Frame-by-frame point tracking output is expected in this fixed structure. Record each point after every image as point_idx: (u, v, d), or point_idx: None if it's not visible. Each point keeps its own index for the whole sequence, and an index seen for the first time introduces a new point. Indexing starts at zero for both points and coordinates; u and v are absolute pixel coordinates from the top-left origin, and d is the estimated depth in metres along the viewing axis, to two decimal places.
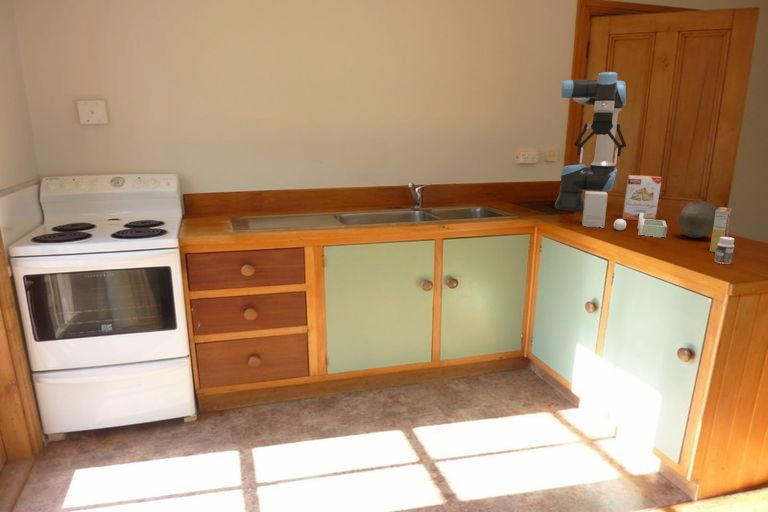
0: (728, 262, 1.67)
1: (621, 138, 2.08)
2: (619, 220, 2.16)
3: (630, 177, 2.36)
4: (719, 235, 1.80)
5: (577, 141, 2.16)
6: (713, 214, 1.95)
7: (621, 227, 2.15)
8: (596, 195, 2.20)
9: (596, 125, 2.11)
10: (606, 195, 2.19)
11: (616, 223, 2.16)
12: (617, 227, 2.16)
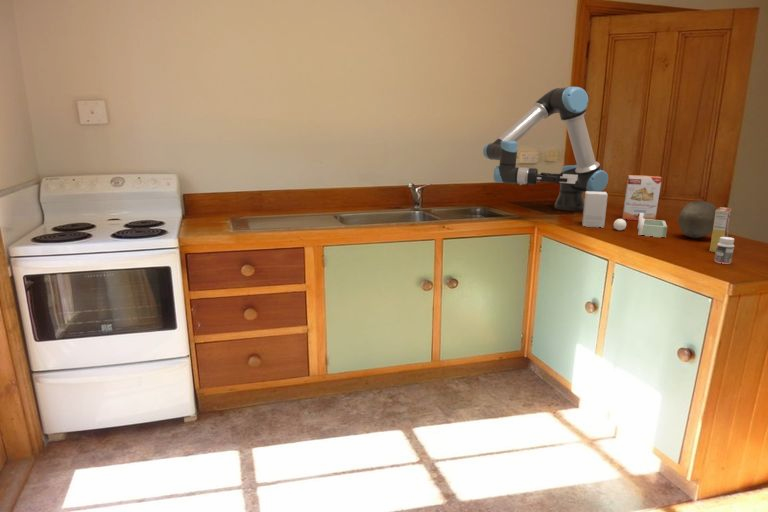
0: (728, 262, 1.67)
1: (549, 181, 2.23)
2: (619, 220, 2.16)
3: (630, 177, 2.36)
4: (719, 235, 1.80)
5: None
6: (713, 214, 1.95)
7: (621, 227, 2.15)
8: (596, 195, 2.20)
9: None
10: (606, 195, 2.19)
11: (616, 223, 2.16)
12: (617, 227, 2.16)
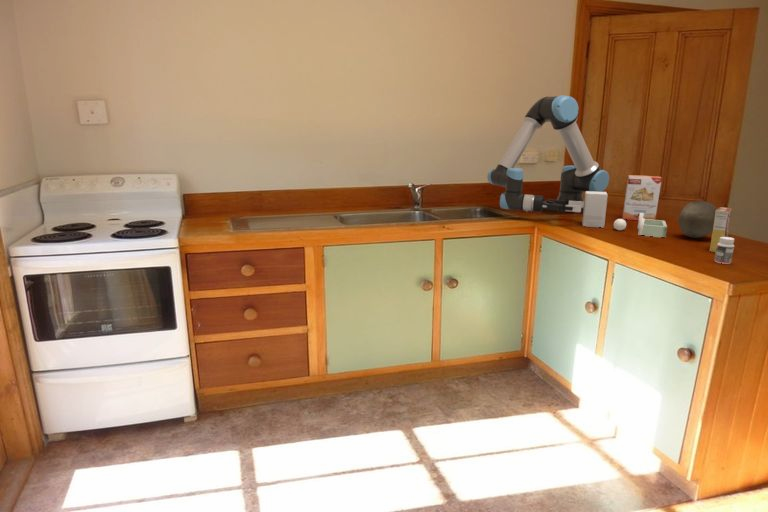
0: (728, 262, 1.67)
1: (555, 210, 2.25)
2: (619, 220, 2.16)
3: (630, 177, 2.36)
4: (719, 235, 1.80)
5: None
6: (713, 214, 1.95)
7: (621, 227, 2.15)
8: (596, 195, 2.20)
9: None
10: (606, 195, 2.19)
11: (616, 223, 2.16)
12: (617, 227, 2.16)
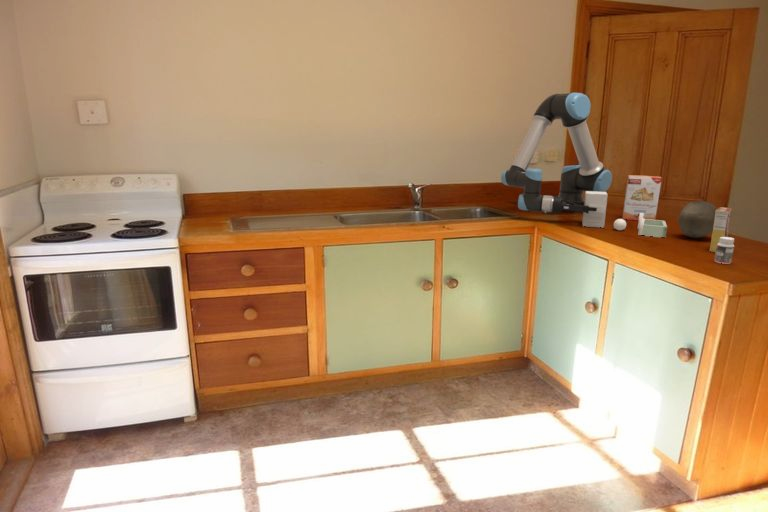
0: (728, 262, 1.67)
1: None
2: (619, 220, 2.16)
3: (630, 177, 2.36)
4: (719, 235, 1.80)
5: None
6: (713, 214, 1.95)
7: (621, 227, 2.15)
8: (596, 195, 2.20)
9: None
10: (606, 195, 2.19)
11: (616, 223, 2.16)
12: (617, 227, 2.16)
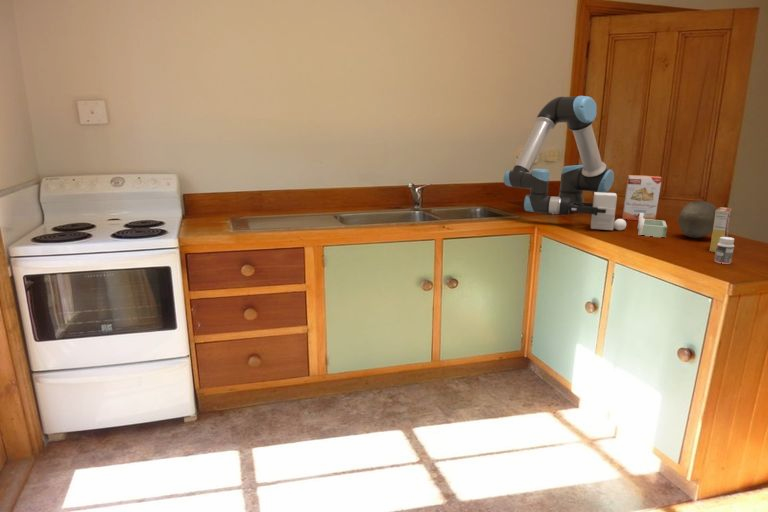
0: (728, 262, 1.67)
1: (586, 212, 2.15)
2: (619, 220, 2.16)
3: (630, 177, 2.36)
4: (719, 235, 1.80)
5: None
6: (713, 214, 1.95)
7: (621, 227, 2.15)
8: (605, 196, 2.12)
9: None
10: (615, 196, 2.11)
11: (616, 223, 2.16)
12: (617, 227, 2.16)
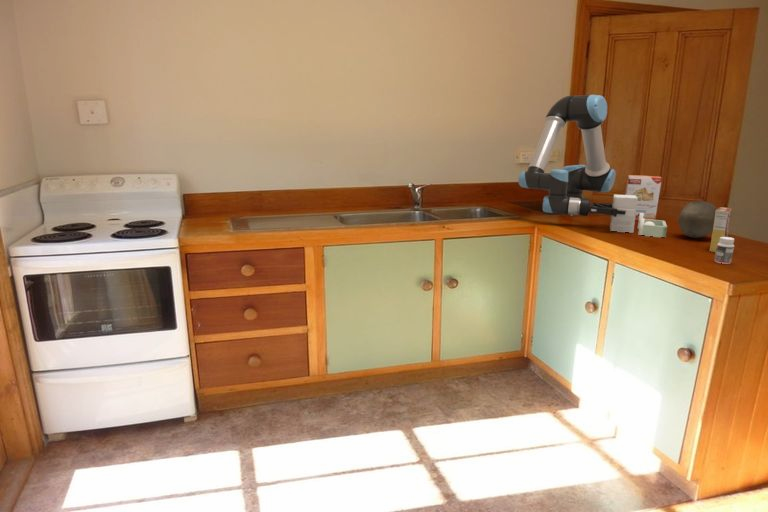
0: (728, 262, 1.67)
1: None
2: None
3: (630, 177, 2.36)
4: (719, 235, 1.80)
5: None
6: (713, 214, 1.95)
7: None
8: (625, 199, 2.10)
9: None
10: (636, 199, 2.09)
11: None
12: None
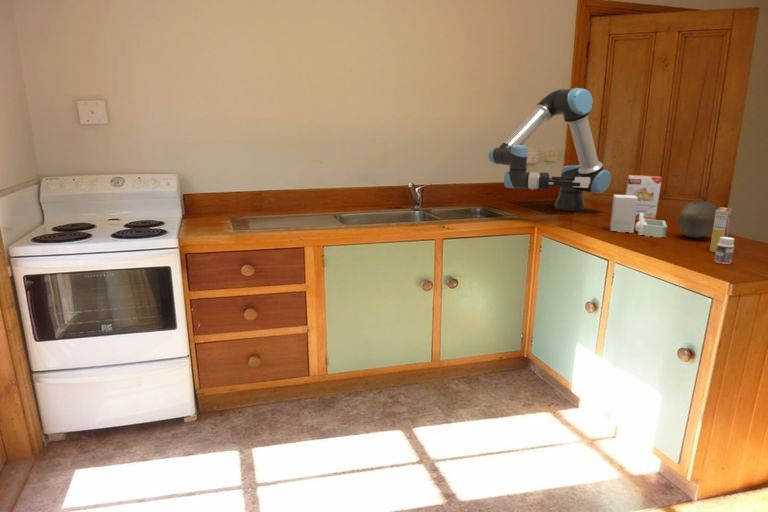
0: (728, 262, 1.67)
1: (561, 186, 2.19)
2: None
3: (630, 177, 2.36)
4: (719, 235, 1.80)
5: None
6: (713, 214, 1.95)
7: None
8: (625, 199, 2.10)
9: None
10: (636, 199, 2.09)
11: None
12: None
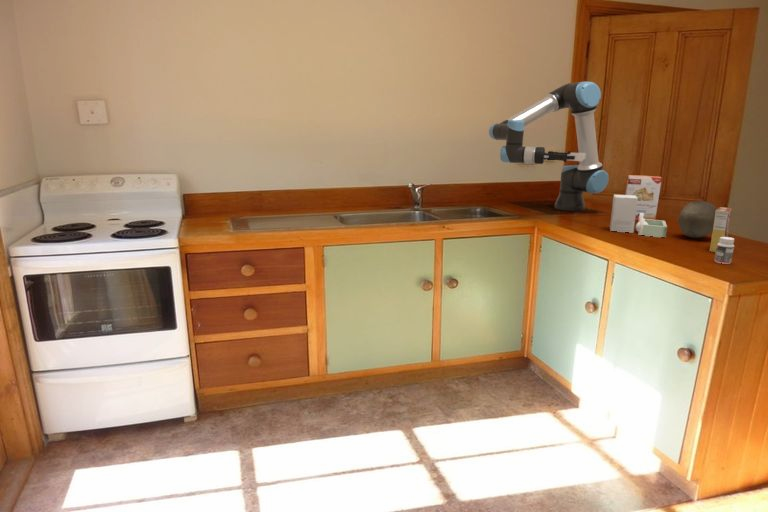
0: (728, 262, 1.67)
1: (556, 159, 2.21)
2: None
3: (630, 177, 2.36)
4: (719, 235, 1.80)
5: None
6: (713, 214, 1.95)
7: None
8: (625, 199, 2.10)
9: None
10: (636, 199, 2.09)
11: None
12: None
